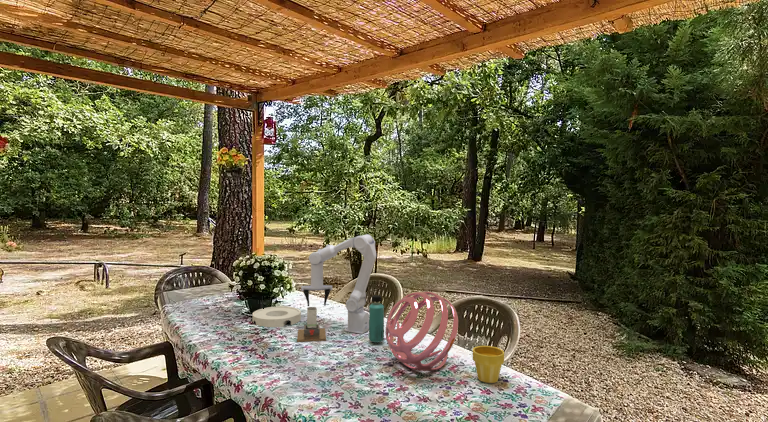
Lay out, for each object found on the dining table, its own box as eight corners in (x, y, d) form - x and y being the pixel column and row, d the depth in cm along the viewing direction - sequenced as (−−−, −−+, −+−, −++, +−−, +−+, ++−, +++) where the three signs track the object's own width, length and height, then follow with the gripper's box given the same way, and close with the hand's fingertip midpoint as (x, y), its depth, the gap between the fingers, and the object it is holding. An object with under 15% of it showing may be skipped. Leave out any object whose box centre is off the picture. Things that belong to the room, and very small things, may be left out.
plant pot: (480, 370, 149) (481, 343, 148) (508, 378, 142) (509, 350, 142) (466, 379, 141) (467, 350, 140) (495, 388, 134) (496, 358, 134)
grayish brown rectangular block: (307, 325, 184) (307, 306, 184) (316, 324, 185) (316, 306, 185) (306, 328, 180) (307, 309, 180) (316, 327, 181) (316, 309, 181)
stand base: (298, 331, 188) (298, 322, 188) (325, 330, 190) (325, 321, 190) (297, 342, 175) (297, 332, 175) (326, 340, 177) (326, 331, 177)
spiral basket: (452, 299, 171) (407, 266, 159) (492, 337, 146) (441, 301, 134) (410, 353, 171) (361, 324, 159) (442, 399, 146) (387, 369, 134)
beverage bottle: (382, 346, 171) (383, 298, 170) (366, 345, 172) (367, 297, 172) (385, 341, 177) (386, 294, 177) (370, 339, 179) (370, 293, 178)
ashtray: (306, 315, 216) (306, 307, 216) (292, 328, 193) (292, 320, 193) (263, 313, 218) (263, 305, 218) (244, 326, 195) (244, 318, 195)
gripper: (331, 275, 203) (331, 302, 203) (301, 275, 200) (301, 303, 201) (332, 277, 196) (332, 306, 196) (301, 278, 193) (301, 307, 194)
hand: (316, 305), depth 198 cm, fingers open, 7 cm apart
